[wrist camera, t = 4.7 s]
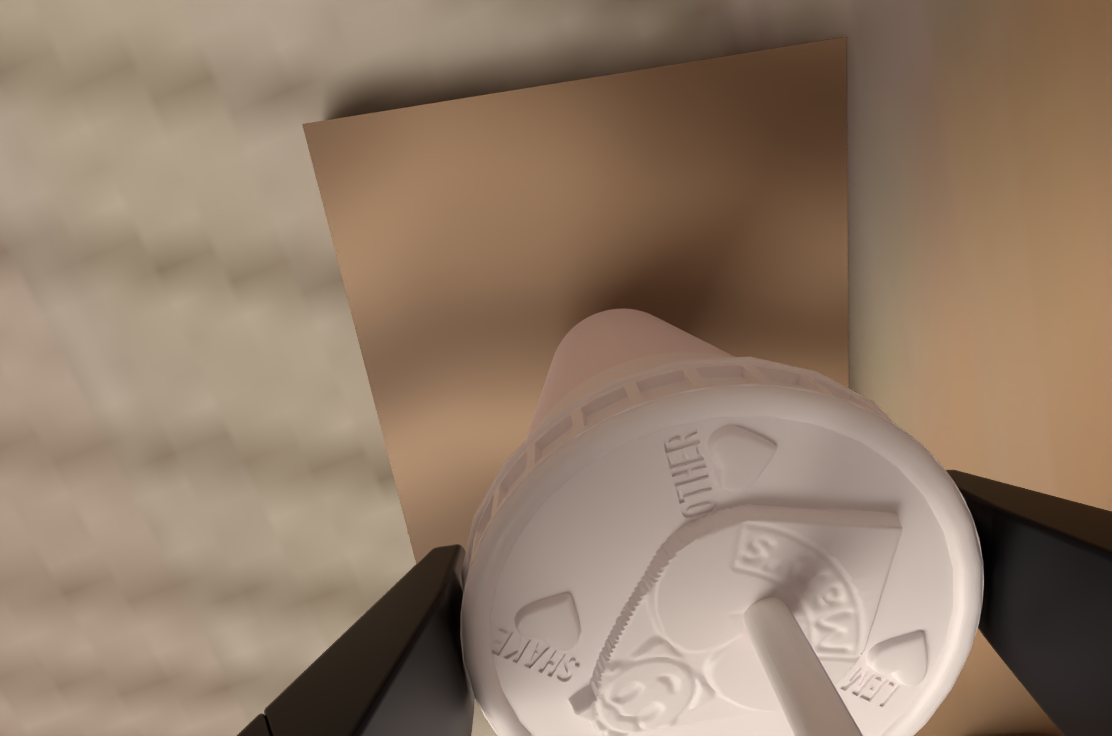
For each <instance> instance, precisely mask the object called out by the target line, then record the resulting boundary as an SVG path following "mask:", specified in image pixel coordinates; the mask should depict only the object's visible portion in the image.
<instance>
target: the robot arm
mask: <svg viewBox="0 0 1112 736" xmlns="http://www.w3.org/2000/svg"><path fill="white" fill-rule="evenodd" d="M946 471H947V473H948V474H949V475H950V476H951V478H952V479H953V481H954V482H955V484H956V486H957V487H958V489H959V491H960V492H961V494H962V496H963V497H964V499H965V502H966V504H967V506H968V508H969V510H970V513H971V515H972V517H973V520H974V523H975V527H976V530H977V533H978V537H979V540H980V546H981V552H982V558H983V572H984V589H983V603H982V609H981V614H980V619H979V625H978V628H979V630H980V631H981V633H982V634H983V636H984V637H985V638H986V639H987V641H988V642H989V643H990V645H991V646H992V647H993V649H994V650H995V651H996V652H997V654H998V655H999V656H1000V657H1001V659H1002V660H1003V661H1004V662H1005V664H1006V665H1007V666H1008V667H1009V669H1010V670H1011V671H1012V672H1013V674H1014V675H1015V676H1016V677H1017V678H1018V680H1019V681H1020V682H1021V683H1022V685H1023V686H1024V687H1025V688H1026V690H1027V691H1028V692H1029V693H1030V695H1031V696H1032V697H1033V698H1034V700H1035V701H1036V702H1037V703H1038V705H1039V706H1040V707H1041V708H1042V709H1043V711H1044V712H1045V713H1046V714H1047V716H1048V717H1049V718H1050V719H1051V721H1052V722H1053V723H1054V724H1055V726H1056V727H1057V728H1058V729H1059V731H1060V732H1061V733H1062V734H1063V735H1064V736H1112V511H1108V510H1104V509H1100V508H1096V507H1093V506H1089V505H1085V504H1081V503H1077V502H1074V501H1070V500H1066V499H1062V498H1059V497H1055V496H1051V495H1047V494H1043V493H1040V492H1036V491H1032V490H1028V489H1025V488H1021V487H1017V486H1013V485H1009V484H1006V483H1002V482H998V481H994V480H991V479H987V478H983V477H979V476H975V475H972V474H968V473H964V472H960V471H957V470H946ZM465 554H466V552H465V550H464V548H463V547H462V545H460V544H454V545H448V546H441V547H436V548H433V549H432V550H431V551H430V552H429V553H428V554H427V555H426V556H425V557H423V558H422V559H421V560H420V561H419V562H418V563H417V564H416V565H415V566H414V567H413V568H412V569H411V570H410V571H409V572H408V573H407V574H406V575H405V576H404V577H403V578H401V579H400V580H399V581H398V582H397V583H396V584H395V585H394V586H393V587H392V588H391V589H390V590H389V591H388V592H387V593H386V594H385V595H384V596H383V597H382V598H381V599H380V600H378V601H377V602H376V603H375V604H374V605H373V606H372V607H371V608H370V609H369V610H368V611H367V612H366V613H365V614H364V615H363V616H362V617H361V618H360V619H359V620H358V621H356V622H355V623H354V624H353V625H352V626H351V627H350V628H349V629H348V630H347V631H346V632H345V633H344V634H343V635H342V636H341V637H340V638H339V639H338V640H337V641H336V642H334V643H333V644H332V645H331V646H330V647H329V648H328V649H327V650H326V651H325V652H324V653H323V654H322V655H321V656H320V657H319V658H318V659H317V660H316V661H315V662H314V663H313V664H311V665H310V666H309V667H308V668H307V669H306V670H305V671H304V672H303V673H302V674H301V675H300V676H299V677H298V678H297V679H296V680H295V681H294V682H293V683H292V684H290V685H289V686H288V687H287V688H286V689H285V690H284V691H283V692H282V693H281V694H280V695H279V696H278V697H277V698H276V699H275V700H274V701H273V702H272V703H271V704H270V705H268V706H267V707H266V709H265V710H264V714H265V715H264V714H259V715H258V716H257V717H256V718H255V719H254V720H253V721H252V722H250V723H249V724H248V725H247V726H246V727H245V728H244V729H243V730H242V731H241V732H240V733H239V734H238V735H237V736H471V732H472V723H473V714H474V694H473V691H472V688H471V686H470V683H469V680H468V677H467V673H466V669H465V665H464V660H463V654H462V646H461V637H460V631H461V608H462V599H463V587H462V576H461V572H462V567H463V563H464V558H465Z"/></svg>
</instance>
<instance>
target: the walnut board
mask: <svg viewBox="0 0 1112 736" xmlns="http://www.w3.org/2000/svg"><path fill="white" fill-rule="evenodd" d="M302 125H303V129H304V132H305V136H306V140H307V144H308V148H309V152H310V156H311V159H312V163H313V167H314V171H315V175H316V179H317V183H318V186H319V190H320V194H321V198H322V202H323V206H324V209H325V213H326V217H327V221H328V225H329V229H330V233H331V236H332V240H333V244H334V248H335V252H336V256H337V260H338V263H339V267H340V271H341V275H342V279H343V283H344V287H345V290H346V294H347V298H348V302H349V306H350V310H351V314H352V317H353V321H354V325H355V329H356V333H357V337H358V341H359V344H360V348H361V352H362V356H363V360H364V364H365V368H366V371H367V375H368V379H369V383H370V387H371V391H372V395H373V398H374V402H375V406H376V410H377V414H378V418H379V422H380V425H381V429H382V433H383V437H384V441H385V445H386V449H387V452H388V456H389V460H390V464H391V468H392V472H393V476H394V479H395V483H396V487H397V491H398V495H399V499H400V503H401V506H402V510H403V514H404V518H405V522H406V526H407V530H408V533H409V537H410V541H411V545H412V549H413V553H414V556H415V560H416V564H417V563H418V562H419V561H420V560H421V559H422V558H423V557H425V556H426V555H427V554H428V553H429V552H430V551H431V550H432V549H433V548H436V547H441V546H448V545H454V544H460V545H462V547H463V548H464V550H465V552H466V549H467V544H468V540H469V535H470V531H471V526H472V522H473V517H474V515H475V513H476V512H477V510H478V508H479V506H480V504H481V503H482V501H483V499H484V497H485V495H486V494H487V492H488V490H489V488H490V486H491V485H492V483H493V481H494V479H495V477H496V476H497V474H498V472H499V470H500V468H501V467H502V465H503V463H504V462H505V461H506V460H507V459H508V458H509V457H510V456H511V455H512V454H513V453H514V452H515V451H516V450H517V449H518V448H519V447H520V446H521V445H522V444H523V443H524V442H525V440H526V437H527V434H528V431H529V428H530V426H531V423H532V420H533V417H534V414H535V411H536V408H537V405H538V402H539V399H540V396H541V393H542V390H543V387H544V384H545V381H546V378H547V375H548V372H549V369H550V366H551V363H552V360H553V357H554V355H555V352H556V350H557V348H558V346H559V344H560V343H561V341H562V339H563V338H564V337H565V336H566V334H567V333H568V332H569V331H570V330H571V329H572V328H573V327H574V326H575V325H577V324H578V323H579V322H581V321H582V320H584V319H586V318H587V317H589V316H592V315H594V314H596V313H599V312H602V311H606V310H611V309H634V310H639V311H643V312H646V313H649V314H651V315H653V316H655V317H657V318H659V319H661V320H663V321H665V322H667V323H669V324H671V325H673V326H675V327H677V328H679V329H681V330H683V331H685V332H687V333H689V334H691V335H693V336H695V337H697V338H699V339H701V340H703V341H705V342H707V343H709V344H711V345H713V346H715V347H717V348H719V349H721V350H723V351H725V352H727V353H728V354H730V355H732V356H734V357H754V358H759V359H764V360H768V361H773V362H777V363H782V364H786V365H791V366H795V367H800V368H805V369H809V370H814V371H817V372H819V373H821V374H823V375H825V376H827V377H829V378H830V379H832V380H834V381H836V382H838V383H840V384H842V385H843V386H845V387H847V388H849V355H848V184H847V37H841V38H835V39H828V40H822V41H816V42H810V43H804V44H797V45H791V46H785V47H779V48H773V49H766V50H760V51H754V52H748V53H741V54H735V55H729V56H723V57H717V58H710V59H704V60H698V61H692V62H685V63H679V64H673V65H667V66H661V67H654V68H648V69H642V70H636V71H630V72H623V73H617V74H611V75H605V76H598V77H592V78H586V79H580V80H574V81H567V82H561V83H555V84H549V85H543V86H536V87H530V88H524V89H518V90H511V91H505V92H499V93H493V94H487V95H480V96H474V97H468V98H462V99H455V100H449V101H443V102H437V103H431V104H424V105H418V106H412V107H406V108H400V109H393V110H387V111H381V112H375V113H368V114H362V115H356V116H350V117H344V118H337V119H331V120H325V121H319V122H312V123H306V124H302Z"/></svg>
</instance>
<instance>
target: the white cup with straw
mask: <svg viewBox="0 0 1112 736" xmlns="http://www.w3.org/2000/svg"><path fill="white" fill-rule="evenodd" d="M461 576H462V587H463V599H462V608H461V631H460V637H461V646H462V654H463V660H464V665H465V669H466V673H467V677H468V680H469V683H470V686H471V688H472V691H473V694H474V697H475V699H476V701H477V703H478V705H479V707H480V709H481V711H482V713H483V715H484V716H485V718H486V719H487V721H488V722H489V724H490V725H491V727H492V729H493V730H494V732H495V733H496V734H497V735H498V736H914V735H915V734H916V733H917V732H918V731H919V730H920V729H921V728H922V727H923V726H924V725H925V724H926V723H927V722H928V720H929V719H930V718H931V716H932V715H933V714H934V712H935V711H936V710H937V708H938V707H939V706H940V704H941V703H942V701H943V700H944V699H945V697H946V696H947V695H948V693H949V692H950V691H951V689H952V688H953V686H954V684H955V682H956V680H957V678H958V676H959V674H960V672H961V670H962V668H963V666H964V664H965V662H966V659H967V657H968V655H969V653H970V651H971V648H972V645H973V641H974V638H975V635H976V631H977V628H978V625H979V619H980V614H981V609H982V603H983V589H984V572H983V558H982V552H981V546H980V540H979V537H978V533H977V530H976V527H975V523H974V520H973V517H972V515H971V513H970V510H969V508H968V506H967V504H966V502H965V499H964V497H963V496H962V494H961V492H960V491H959V489H958V487H957V486H956V484H955V482H954V481H953V479H952V478H951V476H950V475H949V474H948V473H947V471H946V470H945V469H944V468H943V466H942V465H941V464H940V463H939V461H938V460H937V459H936V458H935V457H934V456H933V455H932V454H931V453H930V452H929V451H928V450H927V449H926V448H925V447H924V446H923V445H922V444H921V443H919V442H918V441H917V440H916V439H914V438H913V437H912V436H911V435H909V434H908V433H907V432H905V431H904V430H903V429H902V428H900V427H899V426H897V425H896V424H895V423H894V422H893V421H892V420H891V419H890V418H889V417H888V416H887V415H886V414H885V413H884V412H883V411H882V410H881V409H880V408H879V407H878V406H877V405H876V404H875V403H874V402H873V401H871V400H869V399H867V398H866V397H864V396H862V395H860V394H858V393H856V392H855V391H853V390H851V389H849V388H847V387H845V386H843V385H842V384H840V383H838V382H836V381H834V380H832V379H830V378H829V377H827V376H825V375H823V374H821V373H819V372H817V371H814V370H809V369H805V368H800V367H795V366H791V365H786V364H782V363H777V362H773V361H768V360H764V359H759V358H754V357H734V356H732V355H730V354H728V353H727V352H725V351H723V350H721V349H719V348H717V347H715V346H713V345H711V344H709V343H707V342H705V341H703V340H701V339H699V338H697V337H695V336H693V335H691V334H689V333H687V332H685V331H683V330H681V329H679V328H677V327H675V326H673V325H671V324H669V323H667V322H665V321H663V320H661V319H659V318H657V317H655V316H653V315H651V314H649V313H646V312H643V311H639V310H634V309H611V310H606V311H602V312H599V313H596V314H594V315H592V316H589V317H587V318H586V319H584V320H582V321H581V322H579V323H578V324H577V325H575V326H574V327H573V328H572V329H571V330H570V331H569V332H568V333H567V334H566V336H565V337H564V338H563V339H562V341H561V343H560V344H559V346H558V348H557V350H556V352H555V355H554V357H553V360H552V363H551V366H550V369H549V372H548V375H547V378H546V381H545V384H544V387H543V390H542V393H541V396H540V399H539V402H538V405H537V408H536V411H535V414H534V417H533V420H532V423H531V426H530V428H529V431H528V434H527V437H526V440H525V442H524V443H523V444H522V445H521V446H520V447H519V448H518V449H517V450H516V451H515V452H514V453H513V454H512V455H511V456H510V457H509V458H508V459H507V460H506V461H505V462H504V463H503V465H502V467H501V468H500V470H499V472H498V474H497V476H496V477H495V479H494V481H493V483H492V485H491V486H490V488H489V490H488V492H487V494H486V495H485V497H484V499H483V501H482V503H481V504H480V506H479V508H478V510H477V512H476V513H475V515H474V517H473V522H472V526H471V531H470V535H469V540H468V544H467V549H466V554H465V558H464V563H463V567H462V572H461Z"/></svg>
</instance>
